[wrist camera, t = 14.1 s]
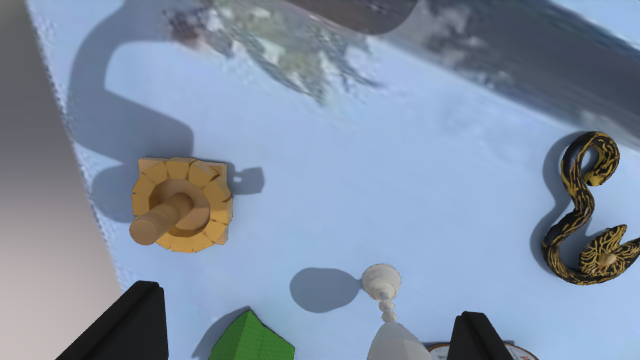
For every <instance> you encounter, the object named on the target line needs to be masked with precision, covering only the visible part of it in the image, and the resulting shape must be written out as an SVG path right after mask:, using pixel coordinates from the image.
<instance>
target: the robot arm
mask: <svg viewBox="0 0 640 360" xmlns="http://www.w3.org/2000/svg"><path fill="white" fill-rule="evenodd" d="M168 356H169V353H168V339H167V326H166V313H165V299H164V289H163V288H162V287H159V284H158V283H157V282H151V281H141V280H140V281H137V282H135V283H134V284H133V285H132V286H131V287H130V288H129V289H128V290H127V291H126V292H125V293H124V294H123V295H122V296H121V297H120V298H119V299H118V300H117V301H116V302H115V303H113V304H112V306H110V307H109V308H108V309H107V310H106V311H105V312H104V313H103V314H102V315H101V316H100V317H99V318H98V319H97V320H96V321H95V322H94V323H93V324H92V325H91V326H90V327H89V328H88V329H86V331H84V332H83V333H82V334H81V335H80V336H79V337H78V338H77V339H76V340H75V341H74V342H73V343H72V344H71V345H70V346H69V347H68V348H67V349H66V350H65V351H64V352H63V353H62V354H61V355H60V356H58V357H57V358H56V359H55V360H168ZM446 360H514V358H513V357H512V355H511V354H510V352H509V351H508V349H507V348H506V346H505V345H504V343H503V341H502V340H501V338H500V337H499V335H498V334H497V332H496V331H495V329H494V328H493V326H492V324H491V323H490V321H489V320H488V318H487V317H486V315H485V314H483V313H478V312H467V311H464V312H463V313H462V315H461V316H457V317H456V319H455V323H454V328H453V332H452V337H451V341H450V346H449V350H448V355H447V359H446Z"/></svg>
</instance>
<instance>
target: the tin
mask: <svg viewBox="0 0 640 360" xmlns="http://www.w3.org/2000/svg"><path fill="white" fill-rule="evenodd" d="M504 345H505V346H506V348H507V349H508V351H509V352H510V354H511V355H512V357H513V358H514V360H539V359H538V358H537V357H536V356H535V355H533V354H532V353H530V352H529V351H527V350H525V349H523V348H520V347H518V346H515V345H511V344H507V343H504ZM449 346H450V344H437V345H434V346H431V347H429V348H428V349H427V351H428V352H429V353H430V355H431V357H432V359H433V360H446V359H447V355H448V350H449Z"/></svg>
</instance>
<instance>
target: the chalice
mask: <svg viewBox="0 0 640 360" xmlns="http://www.w3.org/2000/svg"><path fill="white" fill-rule="evenodd" d="M400 285H401V277H400V274H399V272H398V271H397V270H396V269H395V268H393V267H392V266H390V265H386V264H377V265H374V266H371V267H370V268H368V269H367V270H366V271H365V273H364V274H363V277H362V286H363V288H364V290H365V291H366V292H367V293H368V294H369V295H370V297H371V298H372V299H374V300H375V301H378V302H380V303H379V308H380V310H381V311H383V312H384V313H383V314H382V319H383V321H384V322H386V323H385V324H383V325H382V326H381V328H380V329H379V331H378V332H377V334H376V336H375V338H374V339H373V341H372V344H371V347H370V350H369V353H368V357H367V360H433V359H432V357H431V355H430V353H429V352H428V351H427V349H426V348H425V347H424V346H423V344H422V343H421V342H420V341H419V340H418V339H417V338H416V337H415V336H414V335H413V334H412V333H411V332H410V331H408V330H407V329H406V328H405V327H404V326H403V325H401V324H399V323H397V322H395V321H396V319H397V316H396V314H395V313H394V312H392V310H393V309H394V307H395V305H394V303H393V302H392V301H391V300H392V299H394V298H395V297H396V295H397V293H398V291H399V288H400Z"/></svg>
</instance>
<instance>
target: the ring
mask: <svg viewBox="0 0 640 360" xmlns="http://www.w3.org/2000/svg"><path fill="white" fill-rule="evenodd" d="M218 173H219V172H217V171H216V170H214V169H213V168H211V167H210V166H208V165H207V164H205V163H203V162H202V161H200V160H198V161H196V159H193V158H181V157H173V158H169V159H166V160H164V161H162V162H160V163H158V164H156V165H154V166H152V167H150V168H148V169H146V170H144V172H142V173H141V174H140V176H139V178H138V180H137V182H136V184H135V186H134V188H133V189H132V191H133V192H134V193H132V194H131V198H132V209H133V215H138V216H136V217H135V220H136V219H137V218H139V217H140V216H142V215H144V214H145V213H147V212H148V211H150V210H151V209H153V208H154V207H156V206H157V205H159V204H158V191H159V190H160V188H161V186H162V184H163V183H164V181H165V180H168V179H170V178H171V179H182V180H187V181H189V182H191V183H192V184H194V185H195V186H197V187H198V188H200V189H201V190H202V191H203V193H204V195H205V196H206V198H207V200H208V201H209V203H210V220H209V222H208V224H207V225H206V226H205V227H203V228H201V229H198V230H196V231H194V230H184V229H179V228H178V227H176V226H174V227H172V228H171V229H170V230H169V231H168V232H166V233H165V234H164V235H163V236H162V237H161V238H159V239H158V240H157V241H156V243H157V244H159V245H161V246H162V247H164V248H166V249H167V250H169V249H170V248H171V251H175V252H186V253H193V252H195V253H196V252H198V251H200V250H203V249H205V248H207V247H210V246H212V245H214V243H216V242H217V241H218V240H219V238H220V237H221V236H222V234H223V233H224V231H225V230H226V228H227V227H228V225H229V224H230V222H231V221H232V220H231V218H232V217H233V197H229V196H230V195H231V194H232V193H231V192H230V190H229V188H228V186H227V185H226V183H225V181H224V179H223V178H222V176H221V175H219V176H217V175H218ZM216 176H217V177H216Z"/></svg>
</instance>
